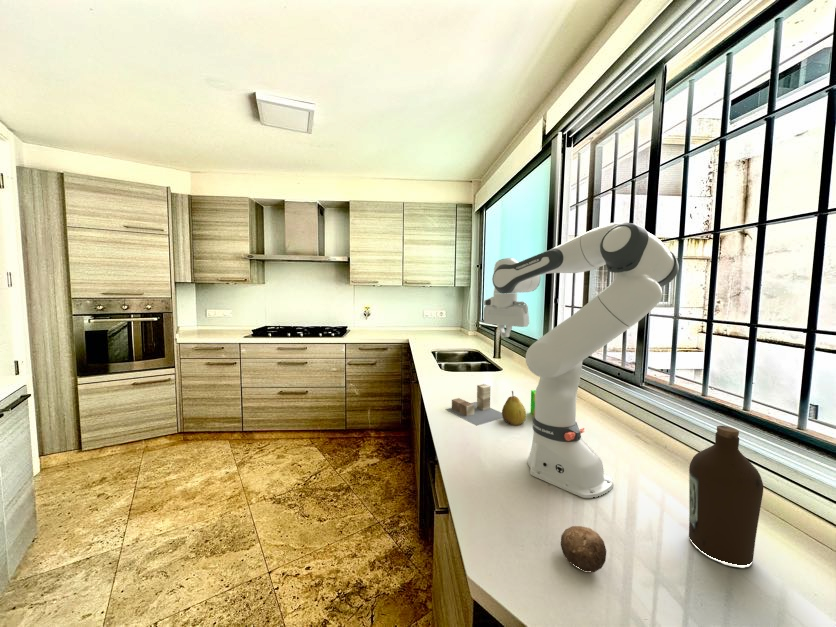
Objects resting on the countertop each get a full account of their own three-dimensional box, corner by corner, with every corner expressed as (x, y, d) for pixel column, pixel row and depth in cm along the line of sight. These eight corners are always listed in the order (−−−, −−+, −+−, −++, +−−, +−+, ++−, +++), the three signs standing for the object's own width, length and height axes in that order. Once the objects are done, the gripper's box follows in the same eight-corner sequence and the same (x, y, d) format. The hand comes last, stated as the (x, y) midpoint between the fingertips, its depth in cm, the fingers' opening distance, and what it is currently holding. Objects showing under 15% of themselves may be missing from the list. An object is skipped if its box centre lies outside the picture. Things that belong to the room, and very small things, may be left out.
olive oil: (753, 547, 66) (763, 427, 64) (760, 583, 58) (772, 447, 56) (685, 522, 73) (692, 414, 71) (683, 551, 65) (691, 429, 63)
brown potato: (597, 528, 67) (588, 512, 64) (620, 574, 59) (611, 558, 57) (560, 541, 68) (550, 526, 66) (578, 586, 61) (568, 571, 59)
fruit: (521, 429, 122) (522, 398, 121) (498, 423, 127) (499, 393, 126) (529, 422, 128) (529, 392, 128) (507, 416, 134) (507, 388, 133)
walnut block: (474, 404, 135) (458, 398, 143) (467, 406, 133) (451, 399, 141) (474, 414, 135) (458, 406, 144) (466, 416, 133) (451, 408, 142)
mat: (509, 416, 134) (509, 415, 133) (476, 426, 124) (476, 425, 124) (476, 402, 150) (476, 401, 150) (444, 410, 141) (444, 409, 141)
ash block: (490, 408, 141) (490, 386, 141) (483, 410, 139) (483, 387, 139) (483, 406, 145) (483, 384, 144) (476, 407, 143) (477, 385, 142)
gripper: (533, 301, 119) (532, 339, 119) (491, 300, 136) (491, 333, 137) (521, 301, 115) (521, 340, 116) (480, 301, 132) (480, 334, 133)
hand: (505, 336), depth 126 cm, fingers closed
